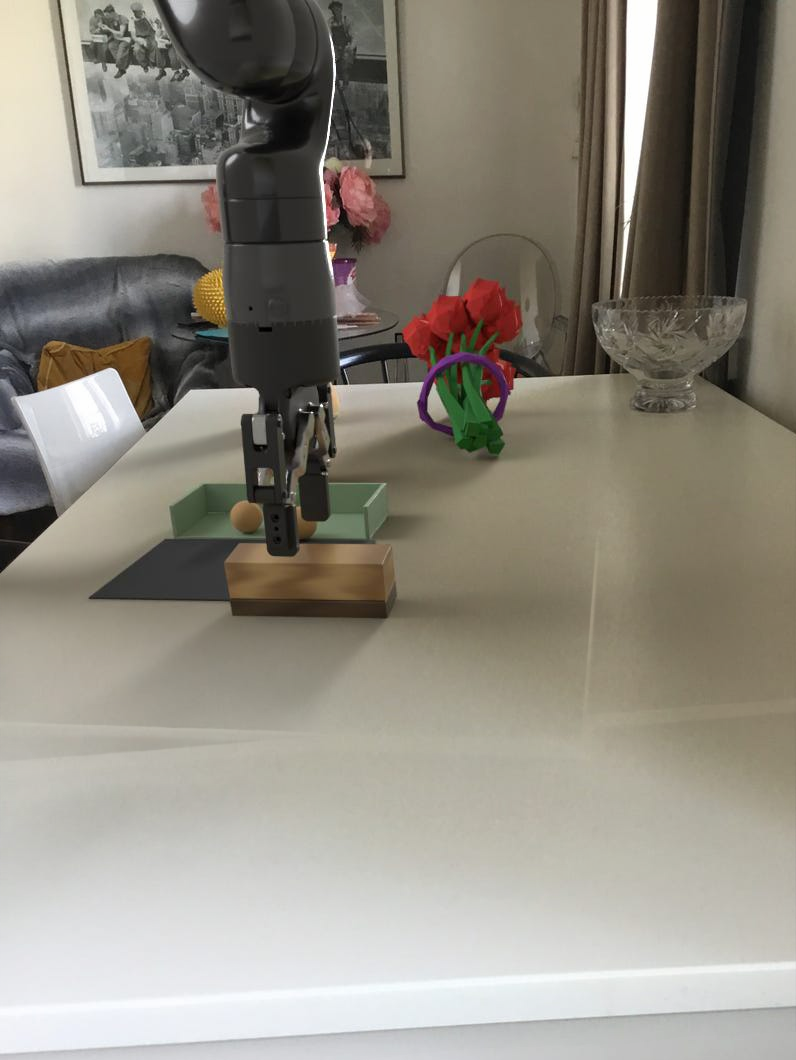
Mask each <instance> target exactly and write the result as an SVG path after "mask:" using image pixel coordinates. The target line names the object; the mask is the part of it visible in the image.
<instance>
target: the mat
mask: <svg viewBox="0 0 796 1060" xmlns="http://www.w3.org/2000/svg"><path fill="white" fill-rule="evenodd" d="M239 543H266V539H195V538H164V539H163V540H161V541H160V542H159V543H158V544H156V545H155V546H154V547H152V548H151V549H150V550H149V551H147V552H146V553H144V554H143V555H142V556H140V557H139V558H138V559H136V560H135V561H134V562H133V563H131V564H130V565H129V566H128V567H126V568H125V569H124V570H122V571H121V572H120V573H118V574H117V575H116V576H114V577H113V578H112V579H110V581H108V582H106V583H105V584H104V585H103V586H101V587H100V588H99V589H98V590H96V591H95V592H93V593H92V594H91V595H89V596H88V600H124V601H125V600H127V601H128V600H129V601H130V600H131V601H187V602H189V601H194V602H230V599H231V598H230V594H229V588H228V583H227V577H226V571H225V566H224V562H225V561H226V559H227V558H228V557H229V556H230V554H231V553H232V552H233V551H234V549H235V548H236V547H237V545H238V544H239ZM299 544H376V540H375V539H370V540H320V539H304V540H299Z"/></svg>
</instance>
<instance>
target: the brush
mask: <svg viewBox="0 0 796 1060" xmlns="http://www.w3.org/2000/svg"><path fill="white" fill-rule="evenodd" d="M299 545H300V550H299V552H298V553H297V554H296V555H295V556H293V557H278V556H271V555H270V554H269V553H268V552H267V546H266V543H239V544H238V545H237V547H236V548H235V549H234V551H233V552H232V553H231V554H230V556H229V557H228V558H227V559H226V561H225V562H224V566H225V571H226V577H227V583H228V588H229V594H230V598H231V599H230V601H229V604H230V612H231V615H232V616H233V617H279V618H280V617H282V618H287V617H288V618H290V617H291V618H337V619H338V618H339V619H340V618H341V619H342V618H343V619H345V618H346V619H388V617H389V616H390V614H391V611H392V609H393V606H394V604H395V602H396V599H397V597H398V591H397V590H398V589H397V581H396V576H395V565H394V553H393V545H392V544H384V543H383V544H382V543H381V544H380V543H379V544H376V543H374V544H299Z"/></svg>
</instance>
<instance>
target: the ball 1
mask: <svg viewBox="0 0 796 1060" xmlns="http://www.w3.org/2000/svg"><path fill="white" fill-rule="evenodd" d="M230 519H231V522H232V524H233V526H234V527H235V528H236V529H237V530H239V531H241V532H244V533H250V532H253V531H255V530H257V529H258V528H259V527H260V526H261V524H262V521H263V513H262V510H261V509H260V507H259V506H258V505H257V504H256V503H249V502H248V501H241V502H239V503H237V504H236V505H235V506H234V507H233V508H232V510H231V514H230Z"/></svg>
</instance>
